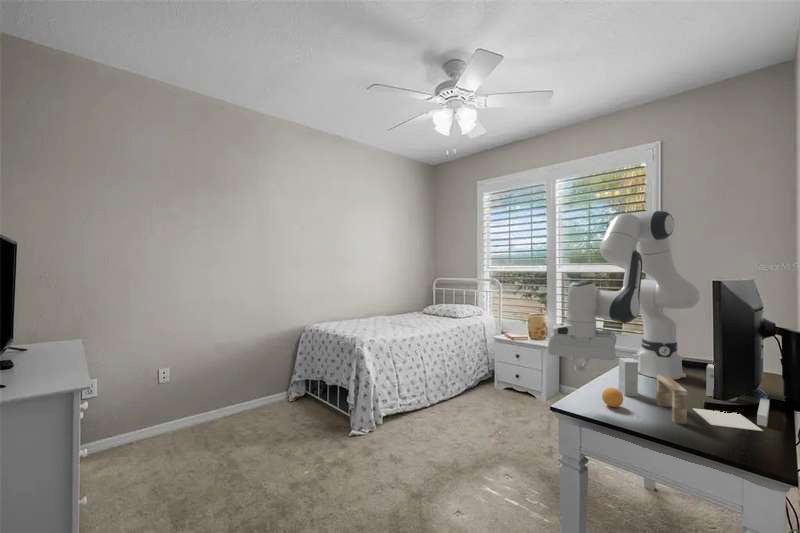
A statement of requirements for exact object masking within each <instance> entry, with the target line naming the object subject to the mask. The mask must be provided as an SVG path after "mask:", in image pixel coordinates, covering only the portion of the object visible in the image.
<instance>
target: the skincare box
mask: <svg viewBox="0 0 800 533" xmlns="http://www.w3.org/2000/svg"><path fill="white" fill-rule="evenodd" d="M636 361H637V360H634V359H633V358H628V357H618V390H619V391H620V392H621V393H622V395H623V396H626V397H638V395H639V394H638V391H639V390H638V385H639V373H638V362H636Z"/></svg>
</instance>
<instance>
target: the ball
mask: <svg viewBox="0 0 800 533" xmlns="http://www.w3.org/2000/svg"><path fill="white" fill-rule="evenodd" d="M601 394H602V395H601V398H602V401H603V402H604V404H606V406H608V407H611V408H618V407H620V406H622V404H623V402H624V394H623V393H622V392H620V391H619V389H617V388H615V387H607V388H605V389H603V391H602V393H601Z"/></svg>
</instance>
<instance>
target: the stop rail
mask: <svg viewBox="0 0 800 533" xmlns="http://www.w3.org/2000/svg"><path fill="white" fill-rule="evenodd" d="M769 412H770V399H767V398H762V397H761V398H760V400H759V405H758V409H757V413H756V414H757V415H756V426H760V427H765V428H766V427H768V421H769V414H770V413H769Z"/></svg>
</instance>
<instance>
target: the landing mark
mask: <svg viewBox="0 0 800 533" xmlns="http://www.w3.org/2000/svg"><path fill="white" fill-rule="evenodd" d="M692 410H693V411H694V412H695V413H697V414H698V415H699V417H701V418H702V419H704V420H705V421H706V422H707V423H708V424H709V425H711V426H714V427H715V426H716V427H722V428H723V427H724V428H730V429H731V428H732V429H733V428H734V429H738V430H739V429H741V430H749V431H750V430H751V431H759V432H764V430H763V429H762V428H760V427H759V425H757V424H755V423H753V422H752V421H751V420H750V419H748V418H746V417H745V416H744V415H742V414H741V413H739V414H737V413H738V412H732V413H727V412H728V411H723V412H720V411H721V410H714V411H713V410H712V409H703V408H694V407H692ZM724 412H726V413H724Z"/></svg>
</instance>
